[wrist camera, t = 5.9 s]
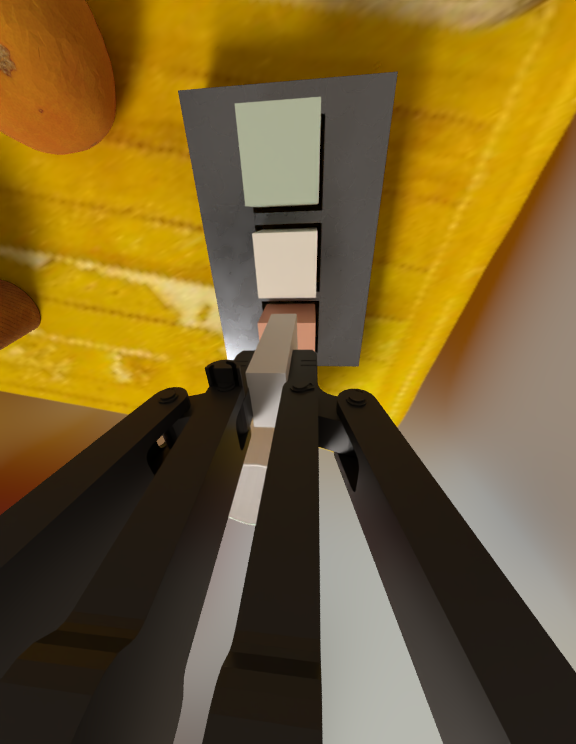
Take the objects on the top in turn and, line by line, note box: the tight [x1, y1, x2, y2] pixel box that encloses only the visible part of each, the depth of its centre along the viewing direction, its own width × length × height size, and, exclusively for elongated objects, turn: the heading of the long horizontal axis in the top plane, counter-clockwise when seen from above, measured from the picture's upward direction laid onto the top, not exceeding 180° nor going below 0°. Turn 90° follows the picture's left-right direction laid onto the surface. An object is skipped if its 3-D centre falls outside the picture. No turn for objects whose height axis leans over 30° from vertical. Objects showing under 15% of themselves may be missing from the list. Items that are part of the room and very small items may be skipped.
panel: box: [178, 72, 398, 366], centre depth 23 cm, size 21×14×4 cm, turn 2°
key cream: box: [252, 227, 317, 298], centre depth 21 cm, size 5×5×5 cm
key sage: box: [235, 97, 321, 207], centre depth 17 cm, size 5×5×5 cm
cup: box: [228, 418, 274, 526], centre depth 30 cm, size 10×10×14 cm
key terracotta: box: [258, 303, 316, 352], centre depth 23 cm, size 5×5×5 cm
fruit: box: [0, 0, 116, 154], centre depth 16 cm, size 10×10×8 cm
